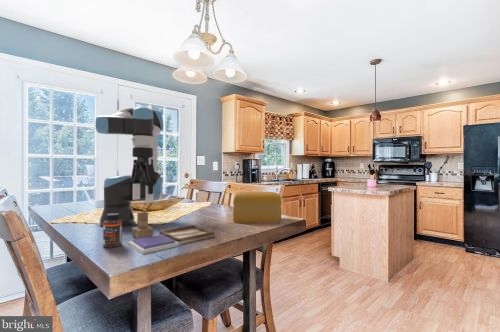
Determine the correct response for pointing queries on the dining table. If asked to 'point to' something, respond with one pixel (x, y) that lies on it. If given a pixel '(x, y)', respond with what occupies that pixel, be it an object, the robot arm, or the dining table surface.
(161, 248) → the ink pad
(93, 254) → the dining table surface
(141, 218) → the stamp
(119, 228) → the supplement bottle
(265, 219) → the bread
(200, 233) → the print board
